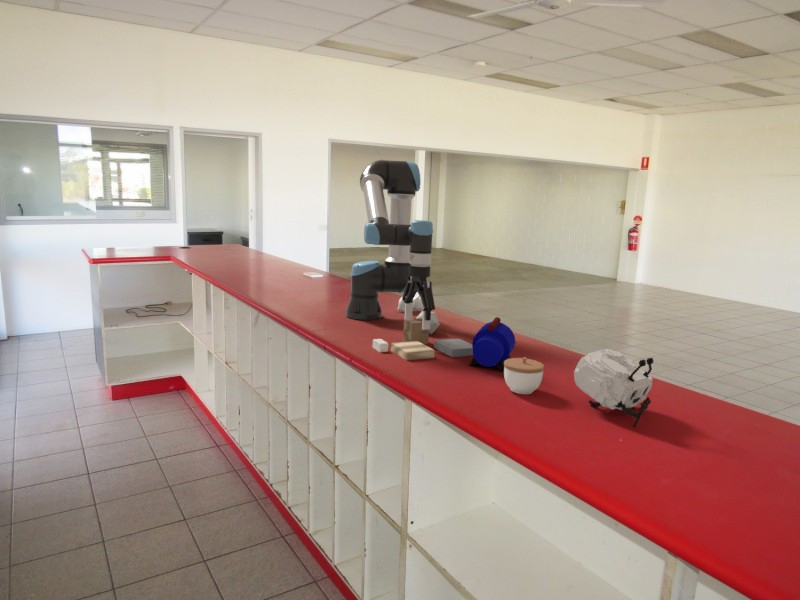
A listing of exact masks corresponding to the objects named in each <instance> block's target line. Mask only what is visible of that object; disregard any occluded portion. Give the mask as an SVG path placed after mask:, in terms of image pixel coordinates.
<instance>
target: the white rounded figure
mask: <svg viewBox="0 0 800 600" xmlns="http://www.w3.org/2000/svg"><path fill="white" fill-rule="evenodd" d="M402 297H403V295H402V296H400V298H399V300H398V306H397V308H396V310H397V311H401V312H403V313H405V303H404V300H402ZM412 301H413V303H412V304H413V309H412V312H413V311H415V312H420V311H421V312H422V311H423V309H424V307H423V303H422V300H421V297H420V295H419V296H418V295H415V296H414V298H413V300H412Z"/></svg>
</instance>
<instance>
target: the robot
mask: <svg viewBox="0 0 800 600" xmlns="http://www.w3.org/2000/svg"><path fill="white" fill-rule="evenodd" d="M654 362H655V361H654V358H653V357H648V358H647V359H641V360H639V361H638V364H639V365H637V364H636V363H634V360H633V359H631V358H627V357H626V356H624V354H623V353H622V352H621V351H618V350H614V349H611V348H609V349H608V348H604V349H600V350H597V351H593V352H592V351H591V352H589V353H587V354H586V355H585V356H582V357H581V358H580V359H579V361H578V363H577V364H576V366H575V369H574V371H573V375H574V376H573V377H574V379H573V381H574V382H575V385H576V387H578V388H579V390H581V391H582V392H583V393H584V394H586V395H587V396H589V397H591V399H593V400H594V401H593V400H589V401H588V403H589V404H590V407H591V408H593V409H597V408H599V407H601V406H602V407H603V408H607V409H610V410H616V409H617V410H619V411H622V412H624V413H625V414H626V415H628V416H629V417H633V418H635V421H634V423H633V424H632V427H633V428H634V429H635V428H636V427H637V424H638V422H639V421H640V418H641V416H642V414H643V412H644V410H647V409H648V408H649V405H650V404H651V403H652V400H651V399H650V397H649V396H648V393H649V392H650V391H651V388H652V386H653V381H654V380H653V377H652V376H650V373H651V371H652V370H653V369H652V365H653V363H654ZM646 365H648V370H647V371H644V370H643V369H641V368H642V367H645V366H646ZM647 396H648V397H647ZM639 404H640V407H639V408H638V411H639V412H636V411H632V410H631V408H634V407H637V406H638V405H639Z"/></svg>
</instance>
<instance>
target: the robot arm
mask: <svg viewBox="0 0 800 600" xmlns="http://www.w3.org/2000/svg"><path fill="white" fill-rule="evenodd" d="M420 172H421V171H420V169H419V166H418V164H417V163H416V162H413V161H408V160H405V161H403V160H385V159H378V160H375V161H373V162H371V163H369V164H368V165H367V166H366V167H365V168H364V169H363V170H362V172H361V174H360V177H359V186H360V190H361V191H362V192H363V197H364V203H365V209H366V216H367V223H365V224H364V229H363V240H364V243H365V244H367V245H374V246H388V256H387V257H386V258H385V259H384V264H381V262H380V261H379V260H364V261H363V260H362V261H359V262H355V263H353V264H352V265H351V271H350V276H351V280H350V281H351V282H350V298H349V301H348V303H347V307H346V310H345V316H346V317H347V318H350V319H352V320H361V321H369V320H371V321H373V320H378V319H381V318H382V316H383V315H382V313H383V312H382V311H383V310H382V308H381V304H380V302H379V301H380V300H379V293H399V294H401V293H403V295H402V296H403V297H402V296H401V297H402V300H404V303H405V312H404V317H403V318H404V319H413V311H412V309H413V304H412V303H413V301H412V300H413V298H414V297H416V296H417V295H416V294H418V295H419V297H421V300H422V303H423V307H424V309H423V307H422V309H423V318H422V329H423V330H426V329H430V319H431V312H433V311H434V310H436V307H435V300H434V294H433V289H432V286H433V285H432V281H427V278H430V277H431V264H432V250H433V249H432V247H433V233H434V229H433V227H434V226H433V225H434V224H433V222H432V220H431V221H430V220H418V219H416V220H411V219H412V218H411V217H412V200H413V199H414V197H416V192H419V191H420V189H421V173H420ZM384 190H387V196H388V197H389V198H390V212H389V213H390V214H389V216H388V210H387V203H386V198H385V193H384ZM404 319H403V320H404Z"/></svg>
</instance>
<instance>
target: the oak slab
mask: <svg viewBox="0 0 800 600" xmlns="http://www.w3.org/2000/svg"><path fill="white" fill-rule="evenodd" d="M435 350H436V349H433V348H431V347H430V346H428V345H427V344H422V343H420V342H419V341H409V342H404V341H399V342H397V341H396V342H391V343H390V351H391V352H392V353H394V354H396V355H398V356H399V357H400V358H402V359H404V360H405V361H412V360H413V361H415V360H425V359H434V358H435Z"/></svg>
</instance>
